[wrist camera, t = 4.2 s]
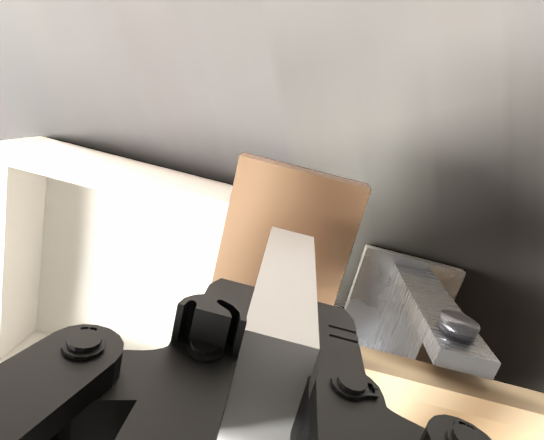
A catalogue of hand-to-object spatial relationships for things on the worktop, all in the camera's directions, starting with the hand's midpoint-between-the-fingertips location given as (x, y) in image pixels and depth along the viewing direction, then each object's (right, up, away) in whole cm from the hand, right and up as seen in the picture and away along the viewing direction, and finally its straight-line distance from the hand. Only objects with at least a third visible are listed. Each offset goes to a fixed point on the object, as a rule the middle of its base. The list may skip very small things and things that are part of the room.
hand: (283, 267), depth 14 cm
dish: (-10, -1, +12) cm, 15 cm away
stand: (+7, -6, +12) cm, 15 cm away
